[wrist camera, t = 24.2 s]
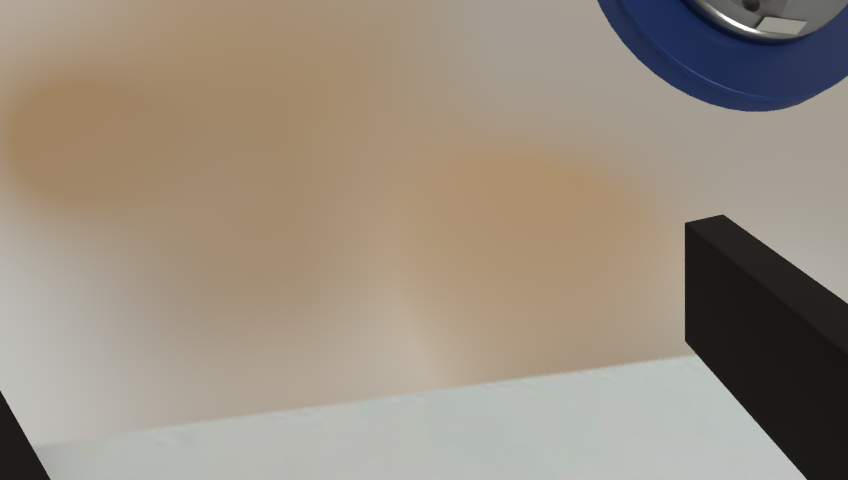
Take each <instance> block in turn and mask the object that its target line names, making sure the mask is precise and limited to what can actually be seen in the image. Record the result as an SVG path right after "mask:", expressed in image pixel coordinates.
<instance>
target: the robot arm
mask: <svg viewBox="0 0 848 480" xmlns="http://www.w3.org/2000/svg"><path fill="white" fill-rule="evenodd" d="M680 1H681V2H682V3H683V4H684V5H685V6H686V7H687V9H688V10H690V11H691V12H692V13H693V14H694V15H695V16H696V17H697V18H699V19H700V20H701V21H703V22H704V23H705V24H707V25H708V26H710V27H711V28H713V29H714V30H716V31H718V32H720V33H722V34H724V35H726V36H728V37H730V38H733V39H735V40H738V41H741V42H745V43H749V44H753V45H760V46H781V45H787V44H791V43H795V42H798V41H800V40H802V39H805V38H806V37H808V36H810V35H811V34H813V33H814V32H816V31H817V30H819V29H820V28H821V27H823V26H824V25H826V24H827V23H828V22H830V21H831V20H832V19H833V18H834V17H835V16H836V15H837V14H838V13H839V12H840V11H841V10H842V9H843V8H844V7H845V6H846V5H847V4H848V0H680ZM685 341H686V342H687V344H688V345H689V346H690V347H691V348H692V349H693V350H694V352H695V353H696V354H697V355H698V356H699V357H700V358H701V360H702V361H703V362H704V363H705V364H706V365H707V366H708V368H709V369H710V370H711V371H712V372H713V373H714V374H715V375H716V377H717V378H718V379H719V380H720V381H721V382H722V383H723V385H724V386H725V387H726V388H727V389H728V390H729V391H730V392H731V394H732V395H733V396H734V397H735V398H736V399H737V400H738V402H739V403H740V404H741V405H742V406H743V407H744V408H745V410H746V411H747V412H748V413H749V414H750V415H751V416H752V417H753V419H754V420H755V421H756V422H757V423H758V424H759V425H760V427H761V428H762V429H763V430H764V431H765V432H766V433H767V434H768V436H769V437H770V438H771V439H772V440H773V441H774V442H775V444H776V445H777V446H778V447H779V448H780V449H781V450H782V452H783V453H784V454H785V455H786V456H787V457H788V458H789V459H790V461H791V462H792V463H793V464H794V465H795V466H796V467H797V469H798V470H799V471H800V472H801V473H802V474H803V475H804V477H805V478H806V479H807V480H848V304H847V303H846V302H844V301H843V300H842V299H840V298H839V297H838V296H836V295H835V294H833V293H832V292H831V291H829V290H827V289H826V288H825V287H823V286H822V285H821V284H819V283H818V282H817V281H815V280H814V279H812V278H811V277H810V276H808V275H807V274H806V273H804V272H803V271H801V270H800V269H799V268H797V267H796V266H794V265H793V264H791V263H790V262H789V261H787V260H786V259H785V258H783V257H782V256H780V255H779V254H778V253H776V252H775V251H773V250H772V249H770V248H769V247H768V246H766V245H765V244H763V243H762V242H761V241H759V240H758V239H757V238H755V237H754V236H752V235H751V234H750V233H748V232H747V231H745V230H744V229H742V228H741V227H740V226H738V225H737V224H736V223H734V222H733V221H731V220H730V219H729V218H727V217H726V216H724V215H719V216H714V217H709V218H705V219H701V220H696V221H691V222H687V223H685ZM0 480H50V478H49V476H48V475H47V473H46V471H45V469H44V467H43V466H42V464H41V462H40V460H39V459H38V457H37V455H36V453H35V452H34V450H33V448H32V446H31V444H30V443H29V441H28V439H27V437H26V436H25V434H24V432H23V430H22V429H21V427H20V425H19V423H18V421H17V420H16V418H15V416H14V414H13V413H12V411H11V409H10V407H9V405H8V404H7V402H6V400H5V398H4V397H3V395H2V393H1V391H0Z"/></svg>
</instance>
